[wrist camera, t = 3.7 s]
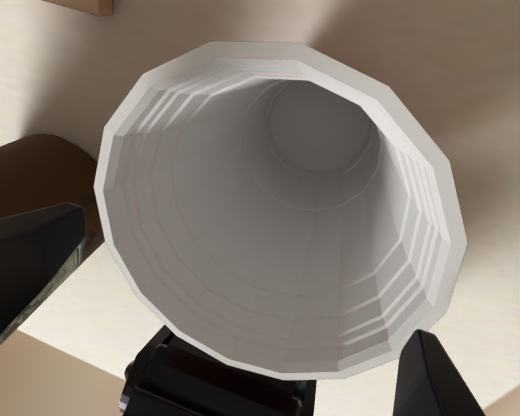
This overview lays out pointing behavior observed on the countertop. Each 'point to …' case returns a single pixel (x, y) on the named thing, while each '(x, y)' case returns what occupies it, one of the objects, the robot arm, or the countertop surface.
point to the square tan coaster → (87, 6)
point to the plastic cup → (279, 209)
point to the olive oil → (49, 196)
